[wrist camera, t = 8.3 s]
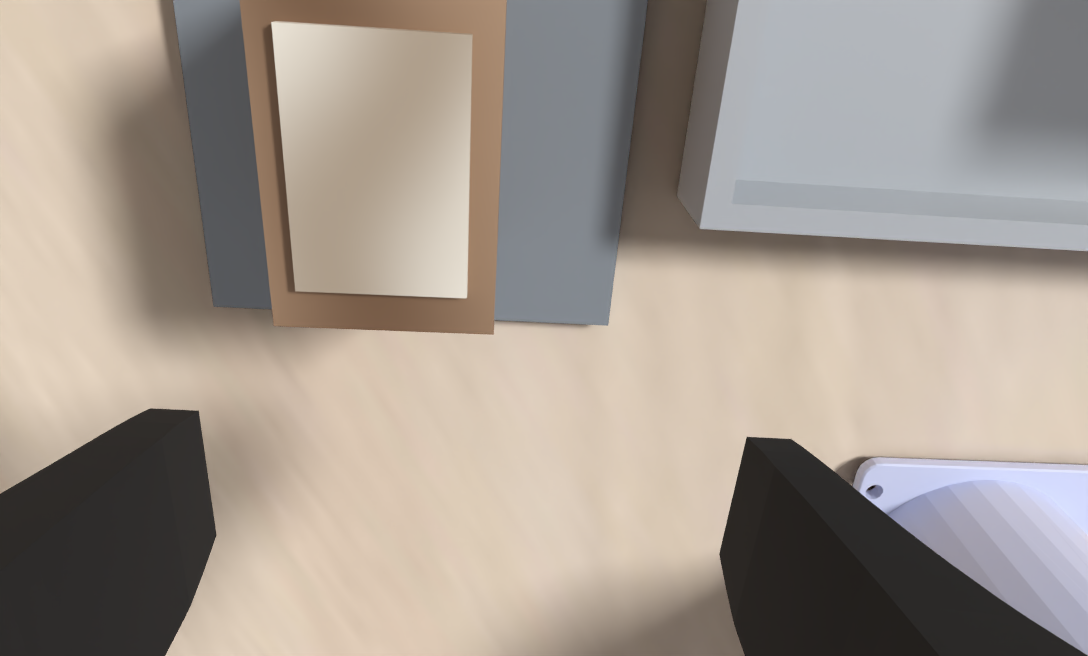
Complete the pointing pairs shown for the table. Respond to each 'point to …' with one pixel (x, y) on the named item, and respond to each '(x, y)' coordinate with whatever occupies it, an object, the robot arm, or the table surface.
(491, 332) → the labelled block
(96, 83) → the table surface
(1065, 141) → the grey bin
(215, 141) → the slate mat
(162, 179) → the table surface
